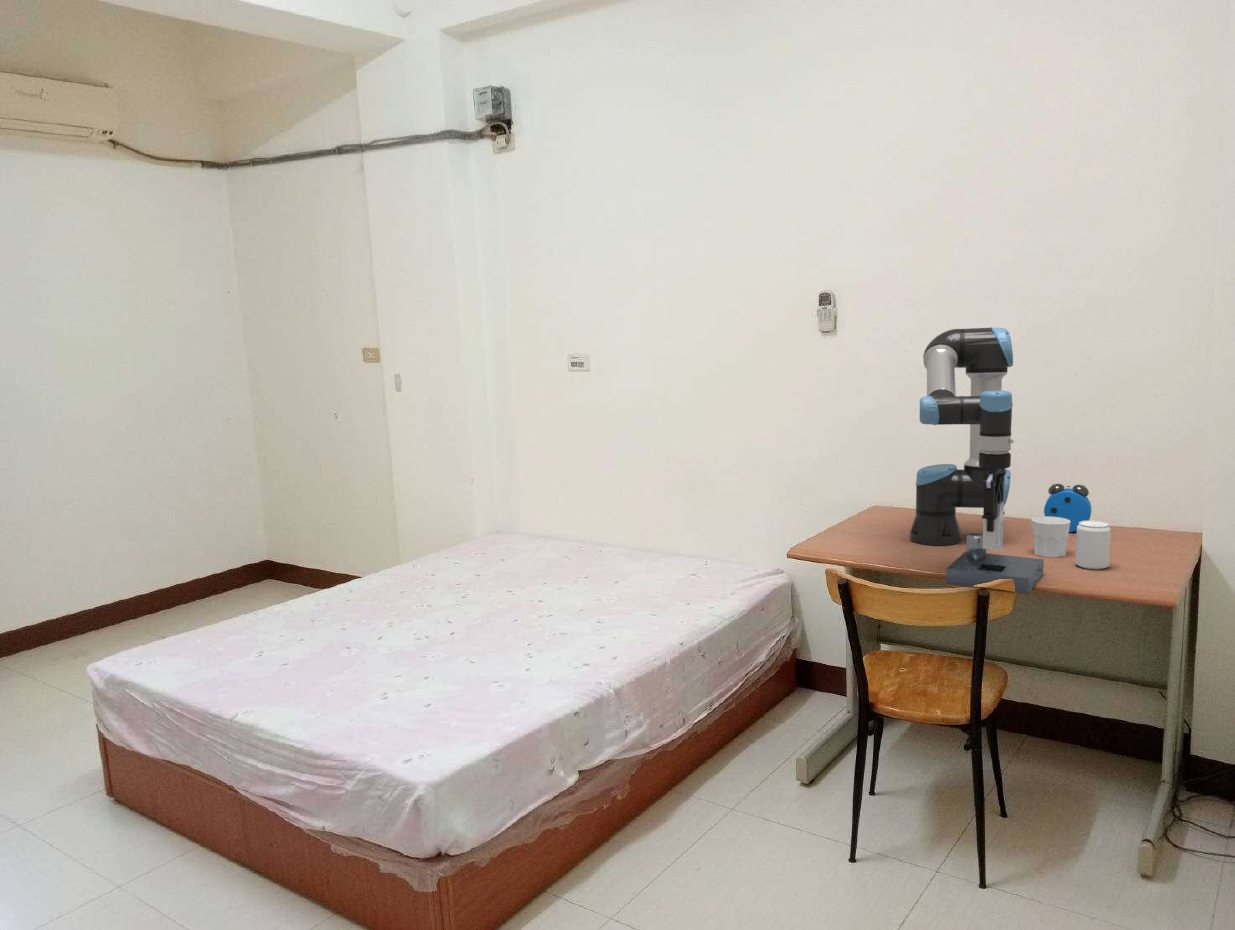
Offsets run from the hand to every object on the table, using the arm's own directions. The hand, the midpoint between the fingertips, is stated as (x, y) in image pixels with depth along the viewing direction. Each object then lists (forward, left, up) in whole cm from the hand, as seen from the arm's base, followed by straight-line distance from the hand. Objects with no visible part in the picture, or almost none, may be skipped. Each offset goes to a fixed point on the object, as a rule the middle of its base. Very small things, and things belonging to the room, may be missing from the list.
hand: (992, 541), depth 233 cm
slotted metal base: (0, +4, -11) cm, 12 cm away
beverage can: (+20, +27, -11) cm, 36 cm away
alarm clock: (+8, +67, -11) cm, 69 cm away
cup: (+8, +36, -11) cm, 39 cm away
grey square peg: (0, 0, -2) cm, 2 cm away
